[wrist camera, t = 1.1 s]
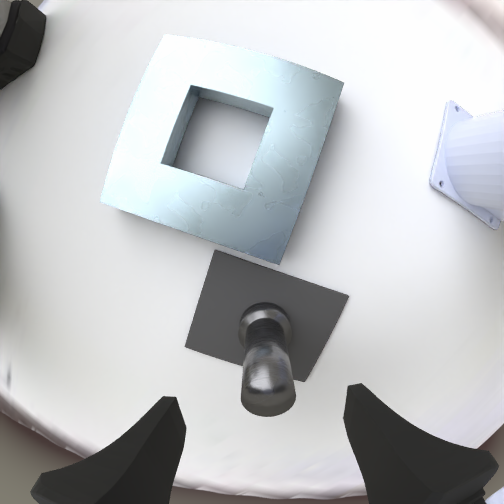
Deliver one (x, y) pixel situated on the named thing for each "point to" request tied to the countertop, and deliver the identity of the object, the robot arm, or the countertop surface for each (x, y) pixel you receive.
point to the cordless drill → (19, 38)
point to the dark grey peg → (266, 360)
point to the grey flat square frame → (267, 158)
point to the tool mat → (256, 291)
